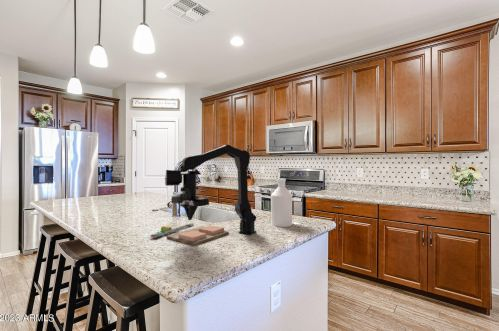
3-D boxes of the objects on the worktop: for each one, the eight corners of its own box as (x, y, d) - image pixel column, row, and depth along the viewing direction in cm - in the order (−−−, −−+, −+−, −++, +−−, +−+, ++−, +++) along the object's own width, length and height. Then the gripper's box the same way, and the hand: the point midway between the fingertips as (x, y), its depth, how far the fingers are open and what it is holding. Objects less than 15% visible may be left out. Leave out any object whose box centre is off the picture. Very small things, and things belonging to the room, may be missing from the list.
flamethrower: (141, 237, 122) (159, 241, 118) (142, 231, 122) (159, 235, 118) (181, 225, 149) (196, 227, 145) (181, 220, 149) (197, 222, 145)
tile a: (210, 228, 134) (224, 231, 128) (198, 232, 127) (212, 234, 122) (210, 225, 134) (224, 227, 128) (198, 228, 127) (212, 231, 122)
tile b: (192, 233, 124) (206, 237, 119) (178, 237, 118) (192, 241, 112) (192, 230, 124) (206, 233, 119) (178, 234, 118) (192, 237, 112)
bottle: (266, 224, 146) (266, 179, 146) (277, 220, 156) (277, 177, 155) (286, 227, 139) (286, 179, 139) (296, 223, 149) (296, 178, 149)
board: (228, 233, 128) (228, 231, 128) (194, 245, 110) (194, 242, 110) (202, 228, 139) (202, 226, 139) (166, 238, 121) (166, 235, 121)
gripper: (161, 185, 118) (161, 220, 118) (190, 187, 107) (190, 226, 107) (181, 183, 127) (181, 216, 127) (209, 185, 116) (210, 221, 116)
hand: (189, 219), depth 119 cm, fingers closed
